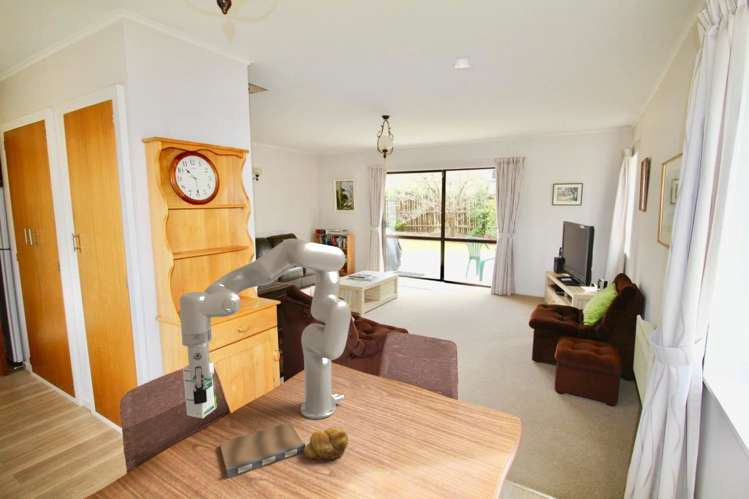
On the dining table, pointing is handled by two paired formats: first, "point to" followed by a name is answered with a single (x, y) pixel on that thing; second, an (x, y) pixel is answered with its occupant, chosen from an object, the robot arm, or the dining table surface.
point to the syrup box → (193, 409)
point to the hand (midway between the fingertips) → (200, 395)
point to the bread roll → (326, 444)
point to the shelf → (260, 449)
